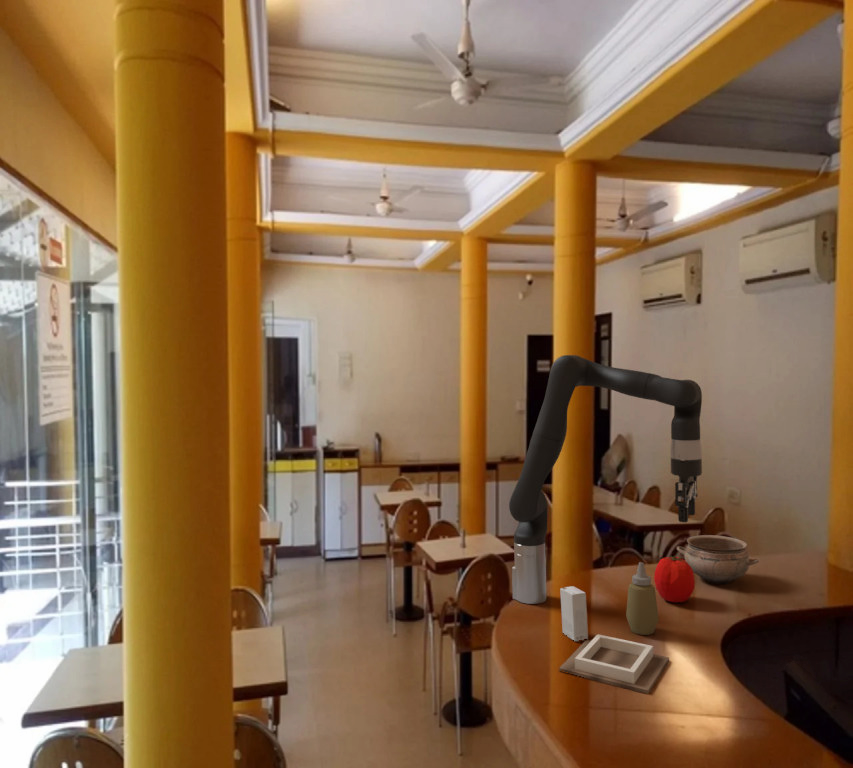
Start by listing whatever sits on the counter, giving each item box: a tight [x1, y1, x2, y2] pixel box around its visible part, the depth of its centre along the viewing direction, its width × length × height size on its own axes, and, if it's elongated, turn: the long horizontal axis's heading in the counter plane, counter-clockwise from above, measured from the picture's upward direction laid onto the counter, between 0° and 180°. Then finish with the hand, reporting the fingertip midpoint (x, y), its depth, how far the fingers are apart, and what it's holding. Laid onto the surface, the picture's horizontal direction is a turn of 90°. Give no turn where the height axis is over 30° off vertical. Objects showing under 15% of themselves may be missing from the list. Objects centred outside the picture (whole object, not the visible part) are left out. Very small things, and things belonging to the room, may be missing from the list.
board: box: [558, 639, 670, 695], centre depth 150 cm, size 20×18×1 cm
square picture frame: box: [575, 633, 654, 684], centre depth 150 cm, size 13×15×2 cm
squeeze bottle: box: [625, 561, 660, 636], centre depth 169 cm, size 8×8×18 cm
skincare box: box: [559, 585, 589, 642], centre depth 167 cm, size 6×4×12 cm
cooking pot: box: [676, 534, 760, 585], centre depth 207 cm, size 25×19×12 cm
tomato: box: [653, 555, 696, 603], centre depth 190 cm, size 12×12×13 cm
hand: (686, 518), depth 169 cm, fingers open, 8 cm apart
